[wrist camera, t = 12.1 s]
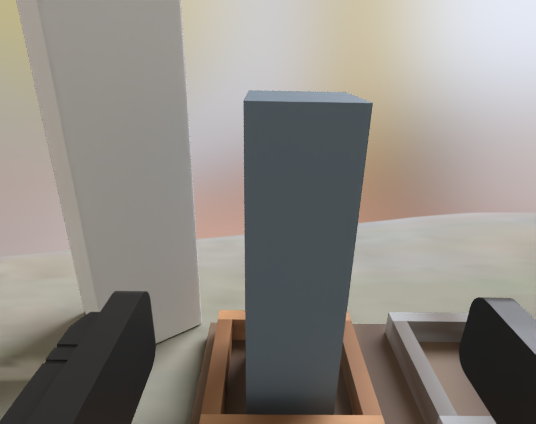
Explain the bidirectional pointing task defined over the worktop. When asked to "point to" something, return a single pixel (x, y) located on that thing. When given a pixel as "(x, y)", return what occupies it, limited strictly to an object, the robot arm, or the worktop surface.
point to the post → (299, 243)
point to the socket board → (356, 374)
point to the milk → (120, 148)
